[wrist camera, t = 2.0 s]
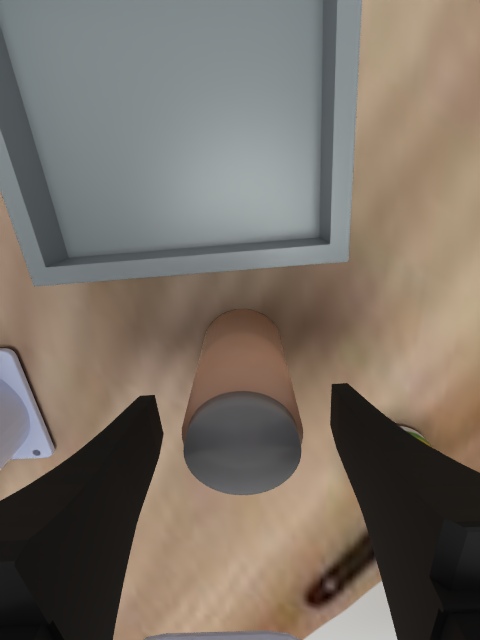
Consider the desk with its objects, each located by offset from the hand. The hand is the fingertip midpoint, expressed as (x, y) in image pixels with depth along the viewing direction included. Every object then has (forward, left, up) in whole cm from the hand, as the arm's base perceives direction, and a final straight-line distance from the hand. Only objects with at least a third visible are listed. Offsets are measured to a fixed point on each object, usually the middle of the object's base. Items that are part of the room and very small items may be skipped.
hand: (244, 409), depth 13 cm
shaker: (0, 0, -6) cm, 6 cm away
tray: (-2, +11, -6) cm, 13 cm away
